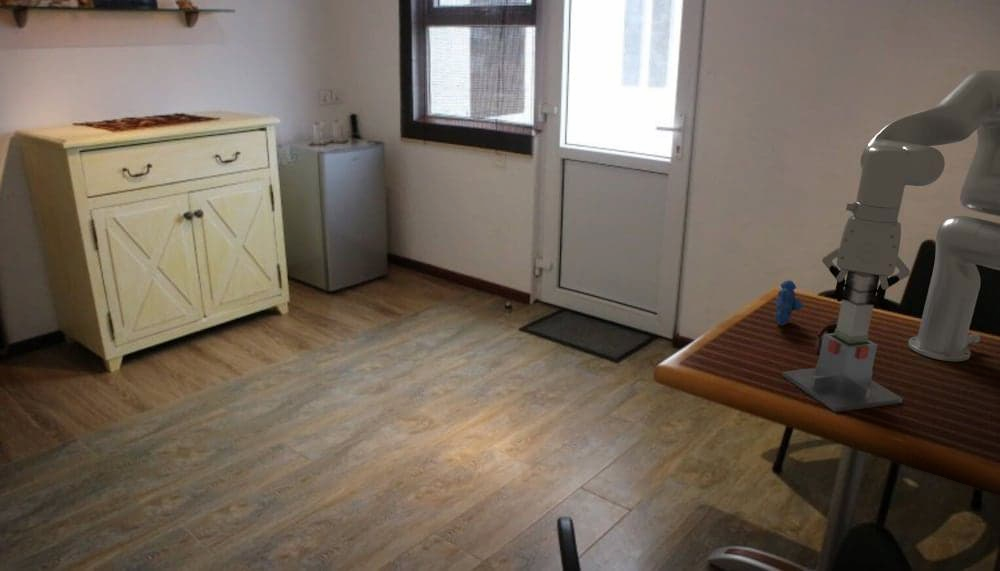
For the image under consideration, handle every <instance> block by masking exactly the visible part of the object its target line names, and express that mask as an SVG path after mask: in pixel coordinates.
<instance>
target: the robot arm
mask: <svg viewBox="0 0 1000 571" xmlns="http://www.w3.org/2000/svg"><path fill="white" fill-rule="evenodd" d="M975 131H976V133H977V143H976V144H977V146H976V149H975V153H974V154H973V158H972V161H971V164H970V167H969V168H968V172H967V174H966V177H965V179H964V182H963V186H962V188H961V191H960V195H959V197H960V198H959V201H960V203H961V205H962V206H963V208H965V209H968V210H970V211H973V212H976V213H981V214H985V215H991V216H996V217H1000V70H996V69H995V70H993V69H984V70H983V69H982V70H979V71H975V72H973V73H971V74H970V75H968V76H967V77H966V78H965V79H964V80H963V81H961V82H960V83H959V84H958V85H957V86H955V88H954V89H953V90H952V91H950V92H949V94H948V95H946V96H945V97H944V98H942V100H941V101H940V102H939V103H938V104H937V105H936V106H933V107H931V108H927V109H924V110H921V111H918V112H914V113H912V114H910V115H906V116H904V117H901V118H899V119H896V120H894V121H892V122H891V123H889V124H887V125H886V126H884V127H883V128H882V129H881V130H880V131H879V132H877V134H876V135H875V136H874V137H872V138H871V140H870V141H868V143H867V144H866V145H865V147H864V149H863V151H862V153H861V156H860V168H861V175H860V180H859V186H858V189H857V195H856V200H855V202H852V203H847V204H846V210H845V211H849V212H851V214H853V215H850V216H849V217H848V219H847V220H846V223H845V226H844V229H843V232H842V236H841V240H840V244H839V247H837V248H836V249H834V250H833V251H831V252H829V253H828V254H826V255H825V256H824V257H823V258H822V260H821V261H822V263H823V264H824V266H825V267H826V268H827V269H828V271H829V272H830V273H831V275H832V276H833V278H835V280H836V284H835V290H834V296H835V297H836V296H837V299H836V301H837V302H838V303H839V302H842V296H843V293H844V288H845V287H844V285H845V283H846V277H847V273H848V271H853V272H859V273H863V272H864V273H866V274H871V275H878V276H879V282H880V283H879V284H878V287H877V290H878V291H877V292H876V297H875V301H874V302H875V304H874V306H873V308H875V309H876V310H877V309H878V310H879V305H883V304H884V302H885V297H886V292H887V290H888V289H889V288H890V287H892V286H893V285H896V284H897V283H898V282H900V281H902V280H904V279H906V278H907V277H909V276H910V275H911V271H910V269H909V268H908V267H907V265H906V264H905V263H904V262H903V260H902V259H901V258H900V256H899V251H900V244H901V238H902V224H901V223H900V222H899V221H898V220H899V215H900V210H901V206H902V200H903V197H904V196H903V195H904V191H905V186H911V187H912V186H913V187H925V186H929V185H931V184H933V183H934V182H936V181H937V180H939V178H940V177H941V176H942V174H943V172H944V169H945V164H946V163H945V157H944V155H943V154H942V152H941V151H940V150H938V149H937V148H935V147H934V146H942V145H950V144H954V143H958V142H962V141H964V140H966V139H968V138H970V136H971V135H972V134H973V133H974V132H975ZM835 259H836V264H835V263H834V262H833V261H834V260H835ZM977 266H980V267H981V266H983V267H984V268H985V267H986V268H989V269H994V270H998V271H1000V223H999V222H995V221H991V220H988V219H982V218H978V217H972V216H966V215H954V216H950V217H947V218H946V219H944V220H943V221H942V222H941V223H940V225H939V226H938V229H937V230H936V237H935V256H934V265H933V270H932V275H931V278H930V283H929V286H928V292H927V296H926V299H925V304H924V307H923V308H924V309H923V313H922V317H921V321H920V323H919V324H920V325H919V328H918V334H917V335H915V336H912V337H910V338H909V339H908V345H907V346H908V347H909V348H910V349H911V350H912V351H914V352H915V353H917V354H919V355H922V356H924V357H928V358H931V359H934V360H938V361H944V362H964V361H967V360H969V359H970V357H971V353H972V352H971V350H970V348H968V345H970V344H972V343H979V342H980V341H981V336H980V335H979V334H978V333H972V334H971V333H970V334H969V331H970V326H971V323H972V319H973V315H974V312H975V307H976V304H977V299H978V296H979V292H980V288H981V281H982V280H981V275H980V272H979V270H978V267H977ZM896 268H897V269H898V270H899V271H898V272H897V273H895V271H896ZM894 273H895V274H894Z"/></svg>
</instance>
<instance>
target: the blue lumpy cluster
mask: <svg viewBox="0 0 1000 571" xmlns="http://www.w3.org/2000/svg"><path fill="white" fill-rule="evenodd" d="M780 287H781V289H780V290H779V291H778V292H777V294H778V295H777V296H779V297H777V298H776V299H775V300H774V302H775V305H774V306H775V308H776V309H777V312H776V313H774V317H775V318H774V319H775V321H776V322H777V324H778V325H779V326H785V325H786V324H788V323H789V322H790V320H789V319H790V318H792V315H791V314H792V313H793V312H794V311H800V310H802V308H804V306H805V305H804V304H803V302H802V300H801V299H799V298H796V296H797V294H796V292H795V289H797V286H796V283H795V282H793V280H789V279H788V280H785V281H783V282H782V283H781V284H780Z"/></svg>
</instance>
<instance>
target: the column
mask: <svg viewBox="0 0 1000 571" xmlns="http://www.w3.org/2000/svg"><path fill="white" fill-rule="evenodd" d="M845 280H846V281H845V285H844V291H843V296H842V300H841V304H840V308H839V313H838V318H837V319H838V320H837V322H838V323H837V328H836V329H835V333H834V336H835V339H837V340H839V341H841V342H842V343H844V344H846V345H848V346H854V345H863V344H866V342H867V340H869V334H868V333H869V330H870V325H871V320H872V315H873V310H874V305H875V299H876V295H877V291H878V285H879V284H880V283H879V282H880V278H879V276H878V275H871V274H866V273H864V272H863V273H859V272H853V271H848V273H847V274H846V277H845Z"/></svg>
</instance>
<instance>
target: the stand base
mask: <svg viewBox="0 0 1000 571" xmlns="http://www.w3.org/2000/svg"><path fill="white" fill-rule="evenodd" d="M822 339H823V340H822V345H821V350H820V351H819V356H818V359H817V362H816V366H815V367H814V368H813V367H811V368H802V369H795V370H794V369H793V370H788V371H782V372H781V373H782V374H781V377H782V378H784V377H785V380H787V381H789V382H790V383H792V384H793V383H794V384H795V385H794V384H793V385H794V386H796V387H797V386H798V387H797V388H798V389H800V388H801V389H800V390H802V391H803V392H805V393H806V394H807V395H809V396H811V397H812V398H814V399H815V400H817V401H818V402H819V401H820V402H819V403H821V404H822V403H823V404H822V405H824V406H825V407H827V408H828V409H830V410H831V411H832V412H834V413H840V412H845V411H846V412H847V411H853V410H860V409H868V408H875V407H881V406H883V407H884V406H890V405H897V404H902V403H903V399H904V398H903V397H901V396H899V395H898V394H896V393H894V392H893V391H891V390H889V389H887V387H884V386H883V385H881V384H879V383H877V382H875V380H872V378H873V374H874V371H873V367H874V363H875V357H876V353H877V349H878V344H877V343H875V342H873V341H871V340H869V339H868V340H867V342H866V344H863V345H854V346H848V345H846V344H844V343H842V342H841V341H839V340H837V339H835V336H834V333H830V334H827V333H823V334H822Z"/></svg>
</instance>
